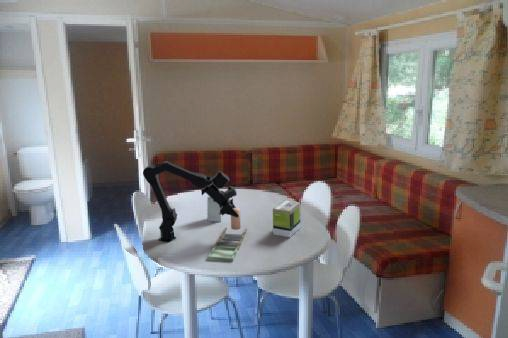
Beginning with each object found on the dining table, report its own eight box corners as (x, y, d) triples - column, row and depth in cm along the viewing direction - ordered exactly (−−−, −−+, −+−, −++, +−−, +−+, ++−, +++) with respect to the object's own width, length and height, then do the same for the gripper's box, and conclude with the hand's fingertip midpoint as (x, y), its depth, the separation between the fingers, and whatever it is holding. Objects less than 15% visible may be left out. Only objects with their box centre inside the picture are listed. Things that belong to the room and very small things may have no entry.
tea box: (284, 224, 213) (284, 199, 209) (300, 228, 208) (301, 202, 205) (272, 234, 200) (272, 207, 197) (290, 238, 195) (290, 210, 192)
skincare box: (207, 221, 218) (206, 196, 215) (209, 217, 224) (208, 193, 221) (221, 221, 218) (221, 197, 214) (223, 218, 224) (222, 193, 220)
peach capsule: (229, 228, 195) (228, 209, 193) (235, 225, 198) (235, 207, 196) (235, 230, 192) (235, 211, 189) (242, 227, 195) (242, 209, 193)
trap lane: (225, 229, 207) (225, 226, 207) (246, 230, 205) (246, 228, 205) (207, 259, 173) (207, 257, 172) (233, 261, 171) (233, 258, 171)
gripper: (226, 188, 180) (249, 210, 183) (227, 178, 198) (249, 198, 201) (210, 204, 182) (233, 225, 185) (212, 192, 200) (234, 212, 203)
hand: (238, 214), depth 193 cm, fingers closed on peach capsule, 5 cm apart
